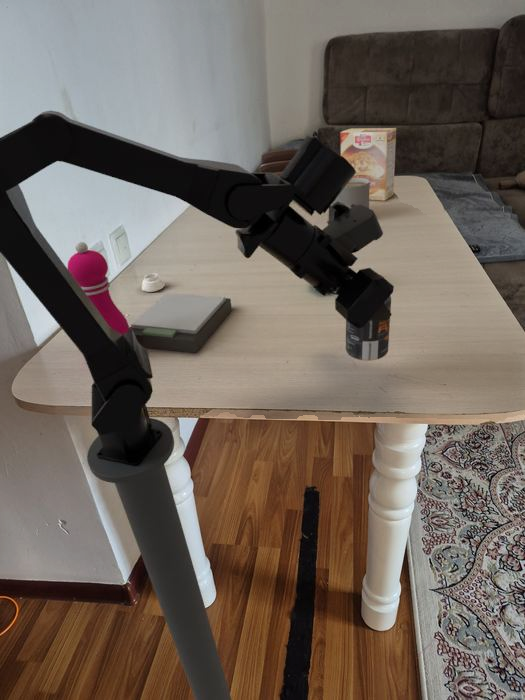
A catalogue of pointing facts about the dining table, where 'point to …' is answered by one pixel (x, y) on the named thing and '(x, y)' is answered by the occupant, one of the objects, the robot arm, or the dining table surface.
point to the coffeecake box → (372, 158)
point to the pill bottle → (369, 338)
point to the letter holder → (276, 160)
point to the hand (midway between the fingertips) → (377, 307)
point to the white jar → (152, 283)
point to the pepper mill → (96, 285)
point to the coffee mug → (355, 193)
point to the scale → (180, 321)
